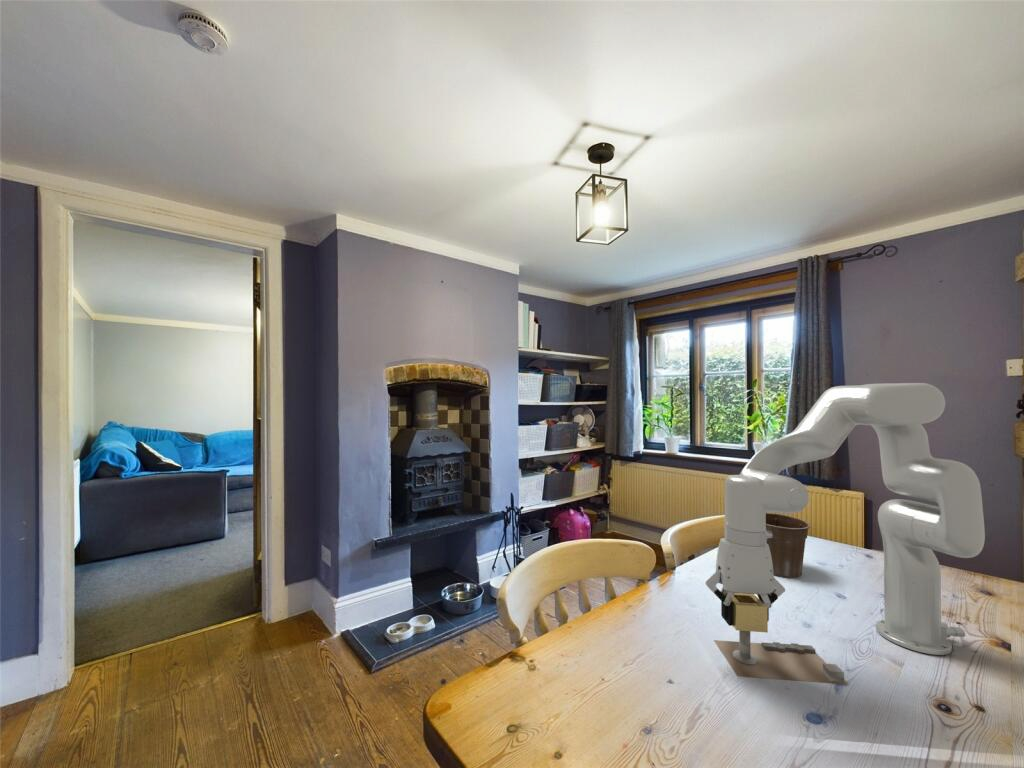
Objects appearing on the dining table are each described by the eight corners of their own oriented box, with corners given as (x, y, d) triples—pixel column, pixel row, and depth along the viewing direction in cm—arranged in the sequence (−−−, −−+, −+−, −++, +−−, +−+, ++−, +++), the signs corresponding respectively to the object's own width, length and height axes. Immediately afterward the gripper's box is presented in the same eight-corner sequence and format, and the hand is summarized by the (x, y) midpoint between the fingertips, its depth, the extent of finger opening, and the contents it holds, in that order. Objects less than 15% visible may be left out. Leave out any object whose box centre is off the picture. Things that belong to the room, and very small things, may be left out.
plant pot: (823, 582, 126) (823, 528, 127) (769, 581, 126) (769, 527, 127) (788, 560, 142) (788, 513, 143) (740, 560, 143) (740, 512, 143)
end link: (753, 617, 89) (753, 593, 90) (767, 632, 83) (767, 606, 84) (724, 615, 90) (723, 591, 90) (736, 630, 84) (736, 604, 84)
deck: (809, 652, 91) (809, 613, 91) (848, 690, 79) (847, 646, 79) (713, 645, 93) (713, 608, 93) (737, 682, 81) (737, 639, 81)
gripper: (778, 531, 90) (778, 616, 90) (695, 528, 92) (695, 611, 91) (799, 544, 83) (799, 636, 82) (708, 539, 84) (708, 630, 84)
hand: (744, 622), depth 87 cm, fingers closed on end link, 6 cm apart
